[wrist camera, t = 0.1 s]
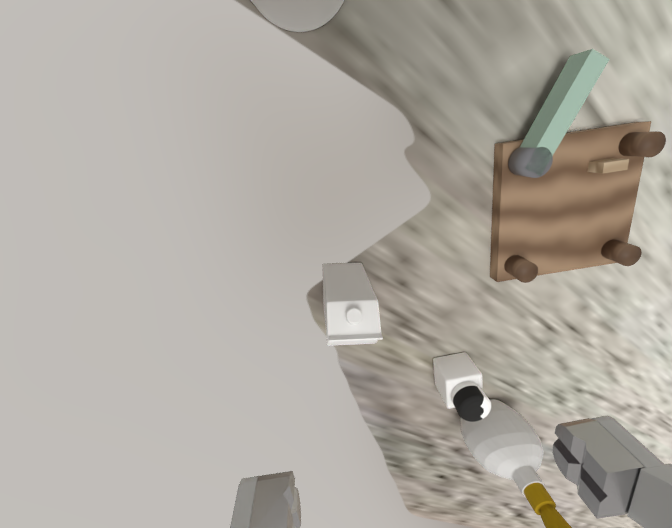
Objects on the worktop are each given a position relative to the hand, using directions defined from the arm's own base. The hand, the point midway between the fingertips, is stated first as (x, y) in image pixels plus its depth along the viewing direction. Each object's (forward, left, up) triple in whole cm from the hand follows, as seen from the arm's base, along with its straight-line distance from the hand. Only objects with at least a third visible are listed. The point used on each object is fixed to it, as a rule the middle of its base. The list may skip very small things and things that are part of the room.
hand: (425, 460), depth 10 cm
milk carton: (+15, 0, -48) cm, 51 cm away
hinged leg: (-7, +34, -45) cm, 57 cm away
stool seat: (+7, +40, -48) cm, 63 cm away
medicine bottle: (+39, +20, -48) cm, 65 cm away
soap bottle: (+52, +27, -48) cm, 76 cm away
